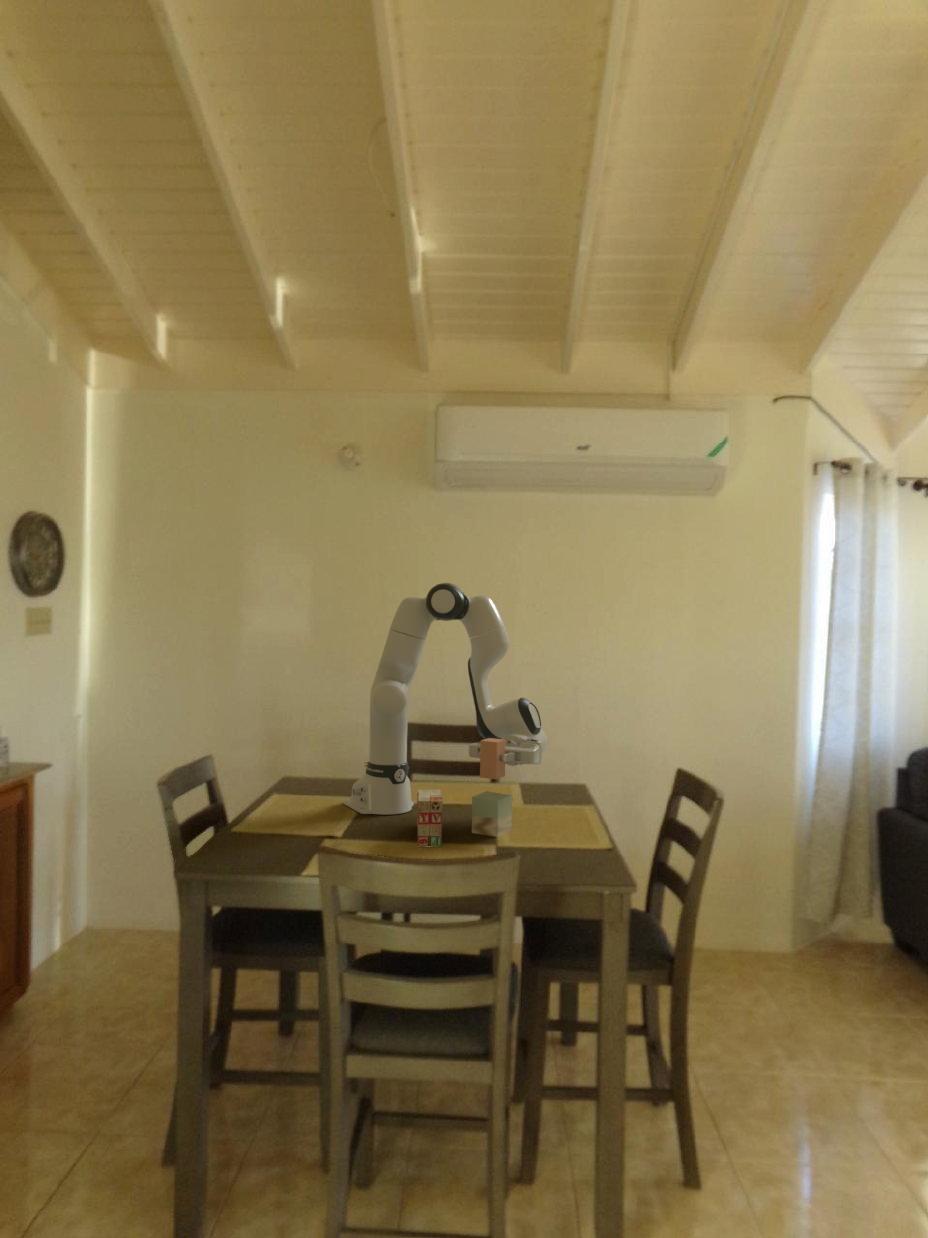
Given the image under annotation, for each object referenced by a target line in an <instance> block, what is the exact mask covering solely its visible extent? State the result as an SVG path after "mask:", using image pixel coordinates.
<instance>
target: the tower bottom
mask: <svg viewBox="0 0 928 1238" xmlns="http://www.w3.org/2000/svg"><path fill="white" fill-rule="evenodd" d="M512 823H513V812H512V813H511V814H509V815H507V816H504V817H502V818H500V819H492V818H486V817H480V816H475V815H472V814H471V834H476V835H483V836H486V837H487V836H489V837H494V838H499V837H502V836H503V835H505V833H506V834H508V833H510V832H512V831H513V830H512V829H513V824H512ZM511 830H512V831H511ZM509 831H510V832H509ZM507 832H508V833H507Z"/></svg>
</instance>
